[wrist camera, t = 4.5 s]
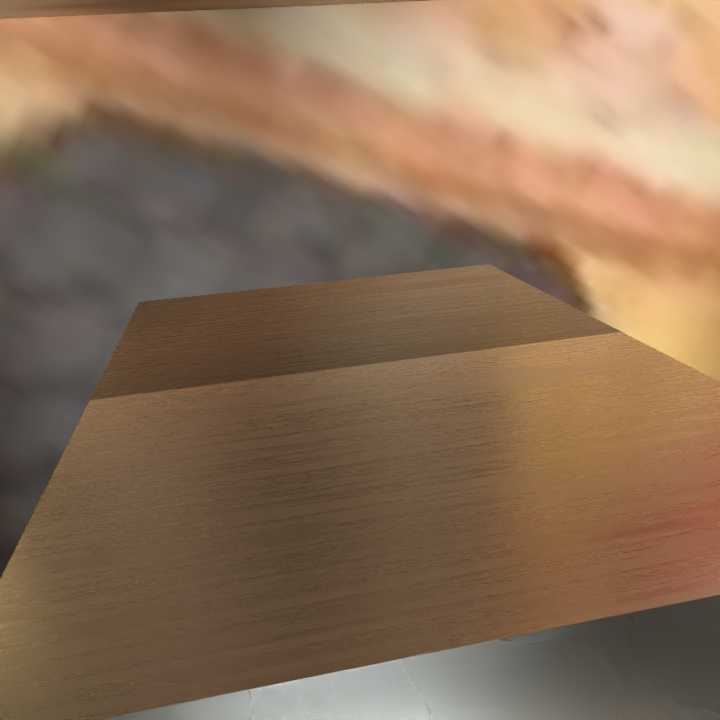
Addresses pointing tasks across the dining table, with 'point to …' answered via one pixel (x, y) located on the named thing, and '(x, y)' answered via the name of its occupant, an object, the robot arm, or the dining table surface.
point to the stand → (145, 6)
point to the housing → (375, 516)
